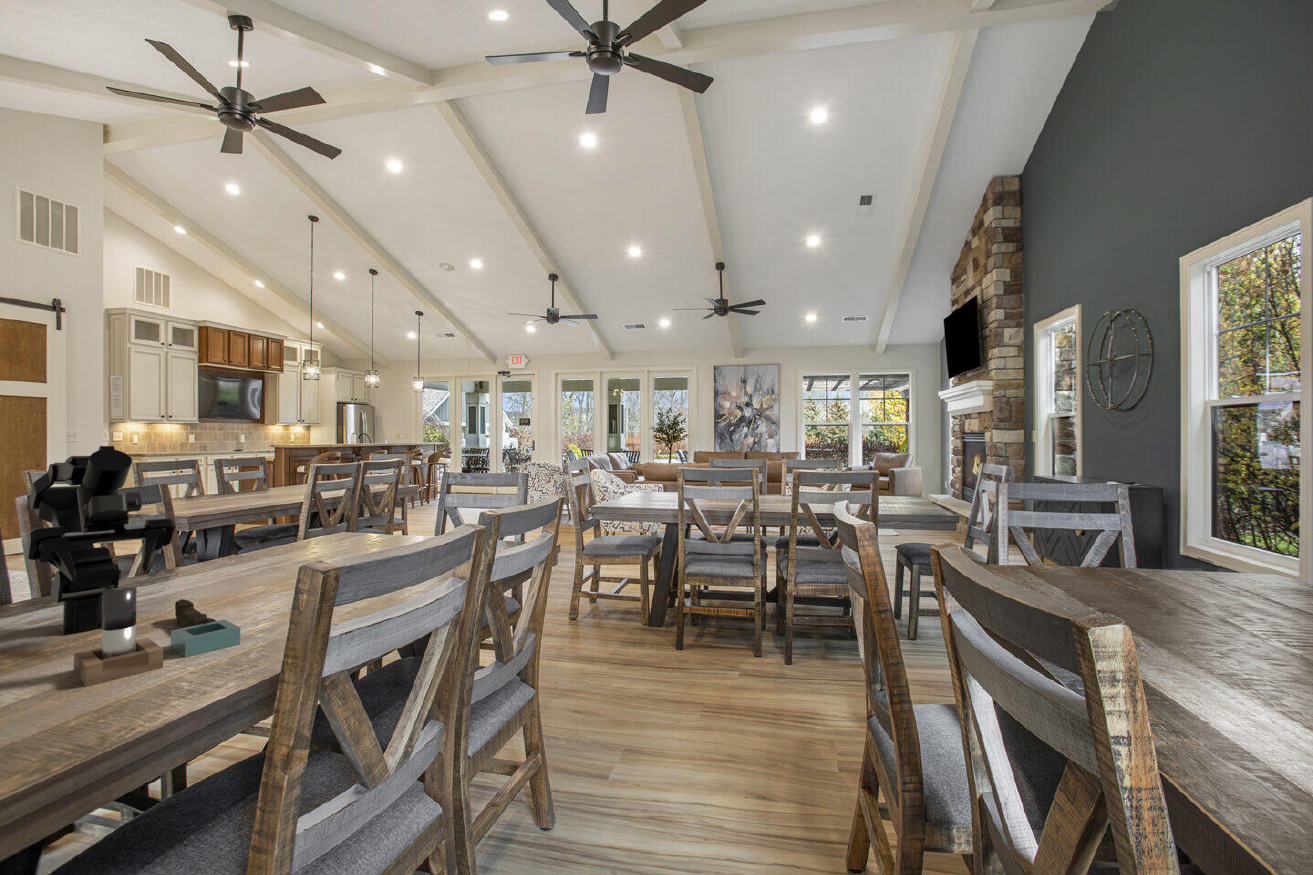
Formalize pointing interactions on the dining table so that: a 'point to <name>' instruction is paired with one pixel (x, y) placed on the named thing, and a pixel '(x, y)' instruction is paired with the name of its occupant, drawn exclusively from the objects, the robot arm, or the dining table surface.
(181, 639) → the socket block
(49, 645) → the dining table surface
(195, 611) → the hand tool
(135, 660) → the frame
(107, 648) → the grey and white cylinder
